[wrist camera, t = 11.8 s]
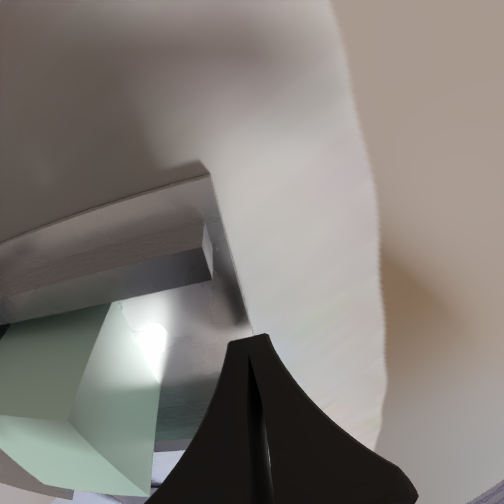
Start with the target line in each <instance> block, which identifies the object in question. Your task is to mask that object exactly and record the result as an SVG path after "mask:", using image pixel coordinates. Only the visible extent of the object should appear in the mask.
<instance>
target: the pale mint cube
mask: <svg viewBox="0 0 504 504" xmlns="http://www.w3.org/2000/svg"><path fill="white" fill-rule="evenodd" d="M160 388H161V386H160V384H159V382H158V381H157V379H156V377H155V375H154V373H153V372H152V370H151V368H150V366H149V364H148V362H147V360H146V358H145V357H144V355H143V353H142V351H141V349H140V347H139V345H138V343H137V341H136V339H135V337H134V335H133V333H132V331H131V329H130V327H129V325H128V323H127V320H126V318H125V316H124V314H123V312H122V310H121V307H120V305H119V303H118V301H115V302H111V303H106V304H102V305H97V306H92V307H87V308H83V309H78V310H73V311H68V312H64V313H59V314H54V315H49V316H44V317H39V318H34V319H29V320H24V321H19V322H14V323H12V324H11V325H10V327H9V328H8V330H7V331H6V332H5V334H4V335H3V337H2V338H1V340H0V449H2V450H3V451H4V452H5V453H6V454H7V455H8V456H9V457H11V458H12V459H13V460H14V461H15V462H16V463H18V464H19V465H20V466H21V467H22V468H24V469H25V470H26V471H27V472H29V473H30V474H31V475H32V476H34V477H35V478H36V479H38V480H39V481H40V482H42V483H43V484H46V485H51V486H56V487H61V488H66V489H72V490H79V491H85V492H93V493H101V494H111V495H123V496H140V497H150V488H151V474H152V462H153V450H154V440H155V430H156V421H157V412H158V404H159V395H160Z"/></svg>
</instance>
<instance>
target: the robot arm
mask: <svg viewBox="0 0 504 504" xmlns="http://www.w3.org/2000/svg"><path fill="white" fill-rule="evenodd" d="M267 440H268V441H267ZM268 448H269V453H268ZM269 457H270V461H269ZM270 466H271V467H270ZM110 495H111V494H110ZM112 496H113V497H115V498H116V499H118V500H119V501H121V502H122V503H123V504H415V502H416V501H417V498H418V494H417V491H416V489H415V487H414V486H413V484H412V483H411V481H410V480H409V478H408V477H407V476H406V475H405V474H404V472H403V471H402V470H401V469H400V468H399V467H398V466H396V465H395V464H393V463H391V462H389V461H387V460H386V459H384V458H382V457H381V456H379V455H377V454H376V453H374V452H373V451H371V450H370V449H368V448H367V447H365V446H364V445H363V444H361V443H360V442H358V441H357V440H356V439H354V438H353V437H352V436H351V435H349V434H348V433H347V432H346V431H344V430H343V429H342V428H341V427H339V426H338V425H337V424H336V423H335V422H333V421H332V420H331V419H330V418H329V417H328V416H327V415H326V414H325V413H324V412H323V411H322V410H321V409H320V408H319V407H318V406H317V405H316V404H315V403H314V402H313V401H312V400H311V399H310V398H309V397H308V396H307V394H306V393H305V392H304V391H303V390H302V388H301V387H300V386H299V385H298V384H297V382H296V381H295V380H294V378H293V377H292V376H291V374H290V373H289V371H288V370H287V369H286V367H285V366H284V364H283V363H282V361H281V360H280V358H279V356H278V354H277V353H276V351H275V349H274V347H273V345H272V342H271V340H270V337H269V335H268V334H266V333H264V334H260V335H255V336H251V337H247V338H242V339H237V340H233V341H230V342H229V343H228V344H227V350H226V354H225V359H224V363H223V366H222V370H221V373H220V376H219V379H218V382H217V385H216V388H215V391H214V394H213V396H212V399H211V401H210V404H209V406H208V408H207V411H206V413H205V415H204V418H203V420H202V422H201V424H200V426H199V428H198V430H197V432H196V433H195V435H194V437H193V439H192V441H191V442H190V444H189V446H188V447H187V449H186V451H185V452H184V454H183V455H182V457H181V458H180V460H179V461H178V463H177V464H176V466H175V467H174V468H173V470H172V471H171V472H170V474H169V475H168V476H167V478H166V479H165V480H164V481H163V483H162V484H161V485H160V486H159V488H150V497H140V496H123V495H112ZM466 504H504V480H502V481H501V482H499V483H498V484H496V485H495V486H494V487H492V488H491V489H489V490H488V491H486V492H484V493H483V494H481V495H480V496H478V497H477V498H475V499H473V500H472V501H470V502H468V503H466Z"/></svg>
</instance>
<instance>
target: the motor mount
mask: <svg viewBox="0 0 504 504" xmlns="http://www.w3.org/2000/svg"><path fill="white" fill-rule="evenodd" d="M115 301H118V303H119V305H120V307H121V310H122V312H123V314H124V316H125V318H126V320H127V323H128V325H129V327H130V329H131V331H132V333H133V335H134V337H135V339H136V341H137V343H138V345H139V347H140V349H141V351H142V353H143V355H144V357H145V358H146V360H147V362H148V364H149V366H150V368H151V370H152V372H153V373H154V375H155V377H156V379H157V381H158V382H159V384H160V386H161V388H160V395H159V404H158V412H157V421H156V430H155V440H154V450H153V452H165V451H179V450H186V449H187V447H188V446H189V444H190V442H191V441H192V439H193V437H194V435H195V433H196V432H197V430H198V428H199V426H200V424H201V422H202V420H203V418H204V415H205V413H206V411H207V408H208V406H209V404H210V401H211V399H212V396H213V394H214V391H215V388H216V385H217V382H218V379H219V376H220V373H221V370H222V366H223V363H224V359H225V354H226V350H227V344H228V343H229V342H230V341H233V340H237V339H242V338H247V337H251V336H254V333H253V330H252V326H251V323H250V319H249V315H248V312H247V308H246V305H245V301H244V297H243V294H242V290H241V286H240V283H239V279H238V276H237V272H236V268H235V264H234V261H233V257H232V253H231V250H230V246H229V242H228V238H227V235H226V231H225V227H224V223H223V220H222V216H221V212H220V208H219V204H218V201H217V197H216V193H215V189H214V185H213V181H212V177H211V174H207V175H203V176H199V177H195V178H192V179H188V180H184V181H180V182H177V183H173V184H170V185H166V186H162V187H159V188H155V189H152V190H149V191H145V192H142V193H139V194H135V195H132V196H129V197H125V198H122V199H119V200H116V201H113V202H110V203H107V204H104V205H101V206H97V207H95V208H92V209H89V210H86V211H83V212H80V213H77V214H74V215H71V216H68V217H66V218H63V219H60V220H57V221H55V222H52V223H49V224H47V225H44V226H41V227H39V228H36V229H34V230H31V231H28V232H26V233H23V234H21V235H18V236H16V237H14V238H11V239H9V240H6V241H4V242H2V243H0V340H1V338H2V337H3V335H4V334H5V332H6V331H7V330H8V328H9V327H10V325H11V324H12V323H14V322H19V321H24V320H29V319H34V318H39V317H44V316H49V315H54V314H59V313H64V312H68V311H73V310H78V309H83V308H87V307H92V306H97V305H102V304H106V303H111V302H115ZM0 482H1V483H4V484H7V485H10V486H13V487H17V488H20V489H24V490H28V491H32V492H36V493H40V494H44V495H49V496H54V497H58V498H64V499H69V500H72V499H73V493H74V490H72V489H66V488H61V487H56V486H51V485H46V484H43V483H42V482H40V481H39V480H38V479H36V478H35V477H34V476H32V475H31V474H30V473H29V472H27V471H26V470H25V469H24V468H22V467H21V466H20V465H19V464H18V463H16V462H15V461H14V460H13V459H12V458H11V457H9V456H8V455H7V454H6V453H5V452H4V451H3V450H2V449H0Z"/></svg>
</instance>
